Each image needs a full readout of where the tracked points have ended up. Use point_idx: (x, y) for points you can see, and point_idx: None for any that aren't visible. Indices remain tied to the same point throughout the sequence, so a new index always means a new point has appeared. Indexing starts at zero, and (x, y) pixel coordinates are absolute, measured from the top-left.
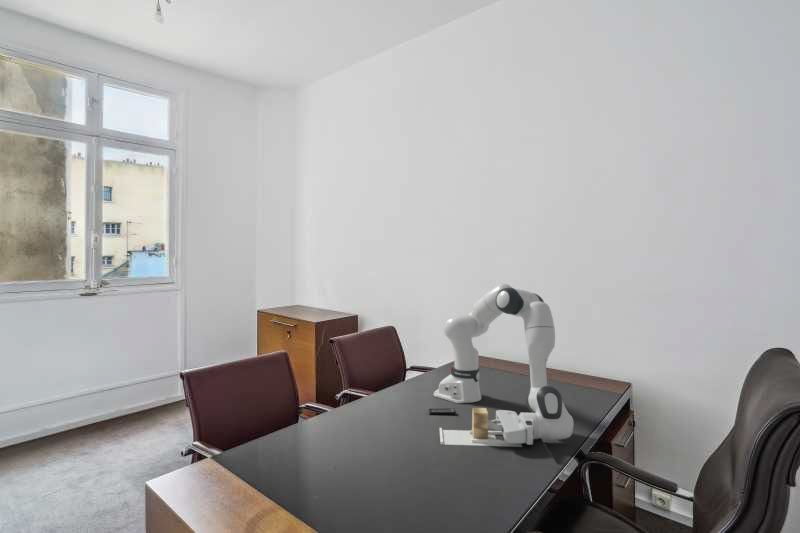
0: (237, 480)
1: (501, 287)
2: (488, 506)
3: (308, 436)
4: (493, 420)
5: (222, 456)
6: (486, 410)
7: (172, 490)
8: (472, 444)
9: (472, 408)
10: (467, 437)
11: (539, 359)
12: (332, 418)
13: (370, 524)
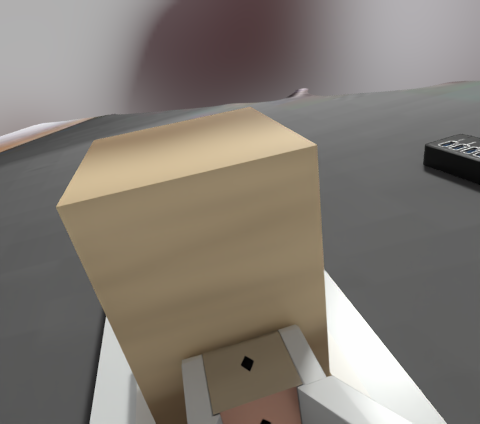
0: (29, 140)
1: None
2: None
3: (171, 121)
4: (340, 406)
5: (100, 117)
6: (203, 169)
7: (23, 130)
8: (110, 367)
9: (230, 111)
10: None
11: None
12: (260, 108)
13: None
